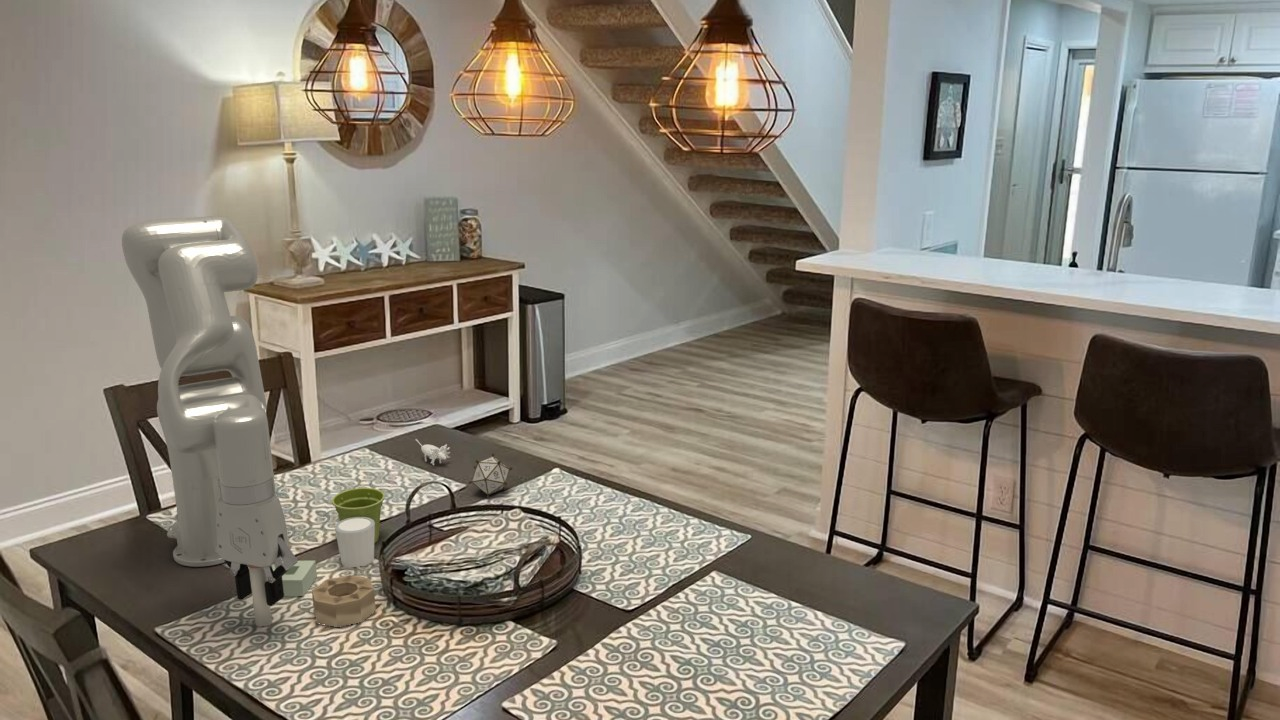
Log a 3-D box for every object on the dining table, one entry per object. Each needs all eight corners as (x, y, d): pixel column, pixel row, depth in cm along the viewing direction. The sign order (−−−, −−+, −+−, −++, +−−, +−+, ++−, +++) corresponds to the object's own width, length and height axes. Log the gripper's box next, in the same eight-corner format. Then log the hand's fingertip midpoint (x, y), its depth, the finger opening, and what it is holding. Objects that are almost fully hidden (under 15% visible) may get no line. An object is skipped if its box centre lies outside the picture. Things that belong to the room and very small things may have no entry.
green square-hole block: (261, 596, 159) (259, 580, 158) (276, 576, 166) (274, 560, 165) (303, 596, 159) (301, 580, 158) (317, 576, 166) (315, 560, 165)
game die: (490, 506, 204) (496, 460, 207) (517, 501, 198) (522, 454, 202) (457, 496, 197) (463, 449, 201) (484, 491, 192) (490, 443, 196)
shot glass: (366, 570, 168) (363, 534, 166) (330, 567, 169) (326, 530, 167) (384, 553, 174) (381, 517, 172) (349, 550, 175) (346, 514, 174)
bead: (303, 620, 151) (300, 598, 150) (338, 594, 160) (336, 572, 159) (351, 631, 148) (349, 607, 147) (385, 603, 157) (383, 581, 156)
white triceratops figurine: (454, 465, 216) (453, 445, 215) (434, 471, 213) (432, 451, 212) (426, 451, 225) (425, 432, 224) (406, 457, 221) (404, 437, 220)
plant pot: (396, 531, 183) (393, 489, 181) (374, 554, 174) (371, 509, 172) (350, 528, 184) (346, 486, 182) (326, 550, 175) (322, 506, 173)
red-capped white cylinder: (252, 625, 150) (243, 555, 147) (262, 617, 152) (254, 548, 149) (264, 627, 149) (256, 557, 146) (275, 620, 152) (267, 550, 148)
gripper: (184, 491, 144) (199, 600, 149) (277, 506, 139) (289, 619, 144) (221, 474, 151) (234, 579, 156) (311, 487, 146) (321, 596, 150)
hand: (260, 597), depth 150 cm, fingers open, 4 cm apart
